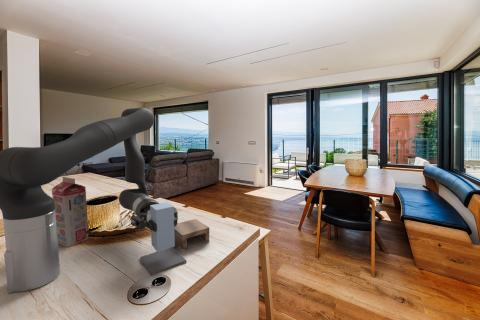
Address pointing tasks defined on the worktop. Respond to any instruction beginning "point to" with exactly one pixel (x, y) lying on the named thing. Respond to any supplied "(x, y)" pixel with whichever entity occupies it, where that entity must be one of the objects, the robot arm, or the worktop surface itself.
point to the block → (162, 226)
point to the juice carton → (70, 212)
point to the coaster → (162, 260)
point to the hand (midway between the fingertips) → (165, 225)
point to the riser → (190, 232)
